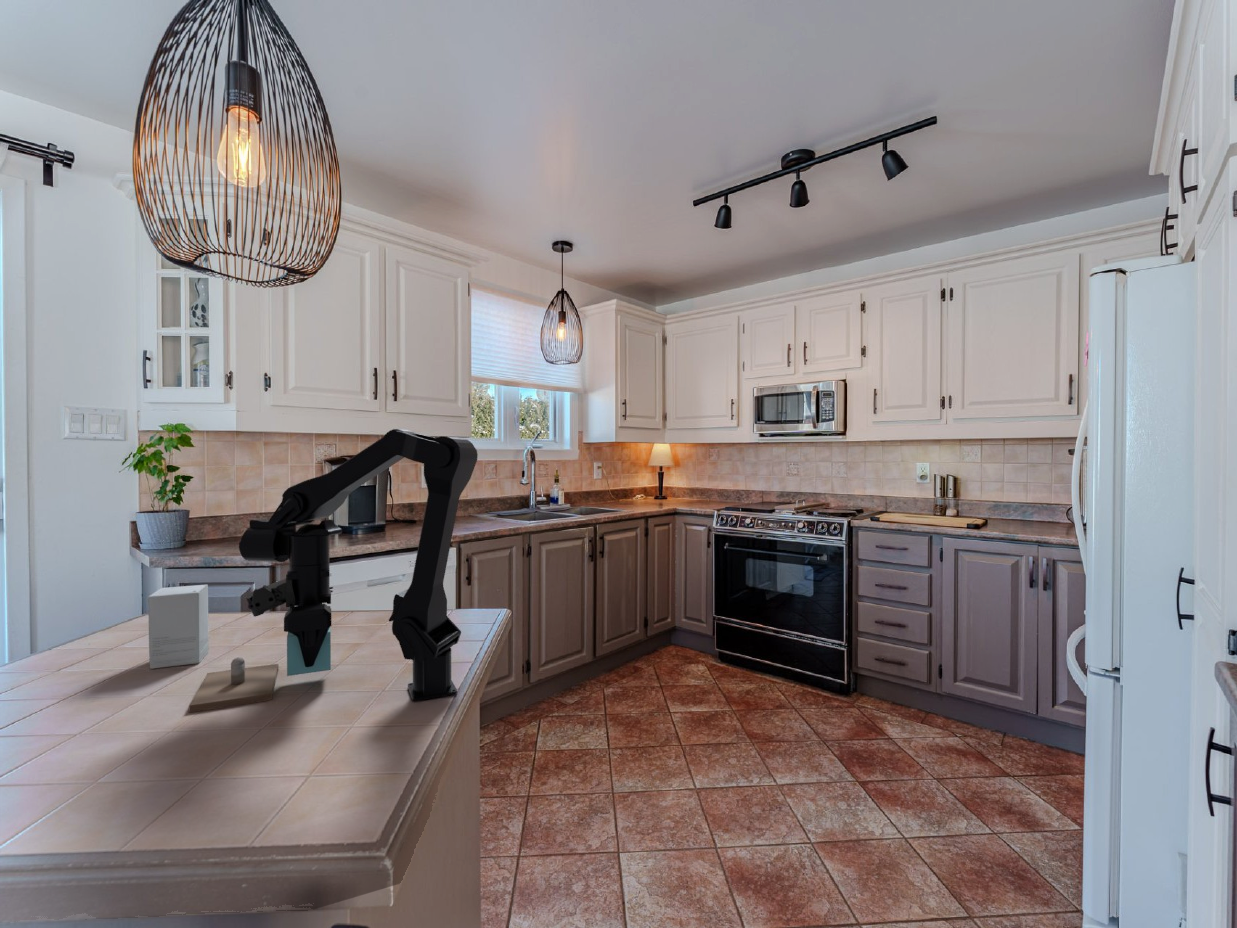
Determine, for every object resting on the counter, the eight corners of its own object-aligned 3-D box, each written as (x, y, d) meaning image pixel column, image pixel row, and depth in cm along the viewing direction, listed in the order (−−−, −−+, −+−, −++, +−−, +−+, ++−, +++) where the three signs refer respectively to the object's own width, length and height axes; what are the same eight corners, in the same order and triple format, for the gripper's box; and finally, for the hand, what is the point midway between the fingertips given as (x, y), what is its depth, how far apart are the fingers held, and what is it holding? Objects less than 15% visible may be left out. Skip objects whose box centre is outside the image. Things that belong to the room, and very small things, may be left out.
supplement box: (210, 651, 109) (210, 583, 109) (199, 664, 102) (199, 591, 102) (161, 656, 106) (161, 586, 106) (147, 669, 100) (146, 595, 100)
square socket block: (330, 669, 93) (330, 631, 93) (287, 675, 90) (286, 636, 90) (330, 658, 98) (330, 622, 98) (289, 663, 95) (289, 626, 95)
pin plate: (271, 699, 87) (271, 666, 87) (189, 712, 83) (189, 677, 83) (278, 669, 100) (278, 640, 100) (207, 679, 95) (207, 648, 95)
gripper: (256, 557, 99) (257, 650, 99) (242, 578, 82) (242, 689, 82) (330, 553, 104) (330, 641, 104) (331, 571, 87) (331, 676, 87)
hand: (309, 660), depth 94 cm, fingers closed on square socket block, 6 cm apart
